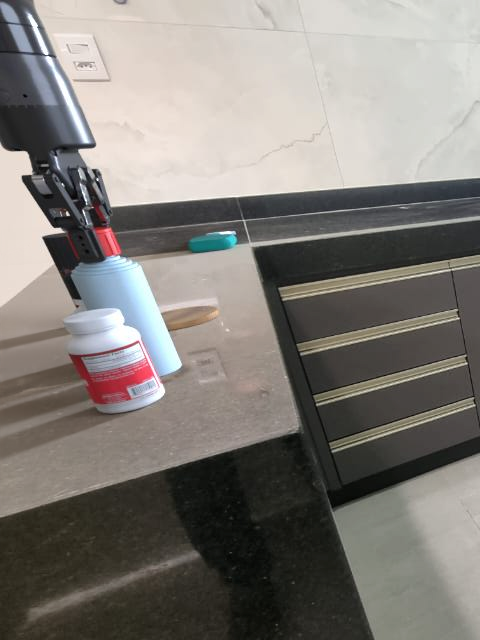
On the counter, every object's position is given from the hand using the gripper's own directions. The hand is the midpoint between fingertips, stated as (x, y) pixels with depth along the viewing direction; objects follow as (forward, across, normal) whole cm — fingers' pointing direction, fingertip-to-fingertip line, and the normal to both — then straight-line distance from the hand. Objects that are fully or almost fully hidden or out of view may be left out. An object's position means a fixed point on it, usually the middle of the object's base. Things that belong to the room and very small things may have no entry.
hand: (102, 258), depth 65 cm
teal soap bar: (+15, +109, +10) cm, 110 cm away
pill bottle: (+16, -10, 0) cm, 19 cm away
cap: (0, 0, 0) cm, 0 cm away
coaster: (+15, +25, +2) cm, 29 cm away
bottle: (+15, 0, 0) cm, 15 cm away
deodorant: (+15, +32, +14) cm, 38 cm away
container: (+16, +9, +4) cm, 18 cm away
